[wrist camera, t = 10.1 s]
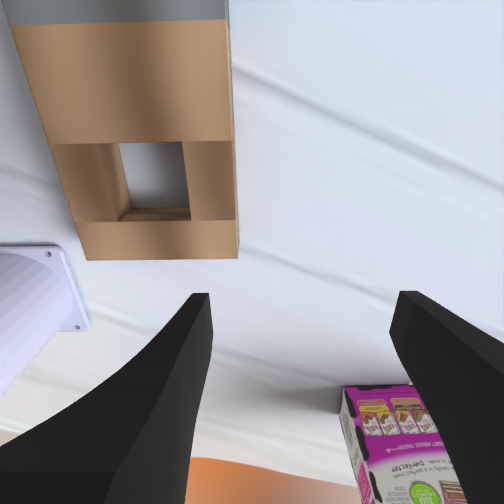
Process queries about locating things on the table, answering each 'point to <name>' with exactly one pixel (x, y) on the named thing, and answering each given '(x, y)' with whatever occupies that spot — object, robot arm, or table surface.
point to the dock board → (135, 116)
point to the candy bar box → (396, 448)
